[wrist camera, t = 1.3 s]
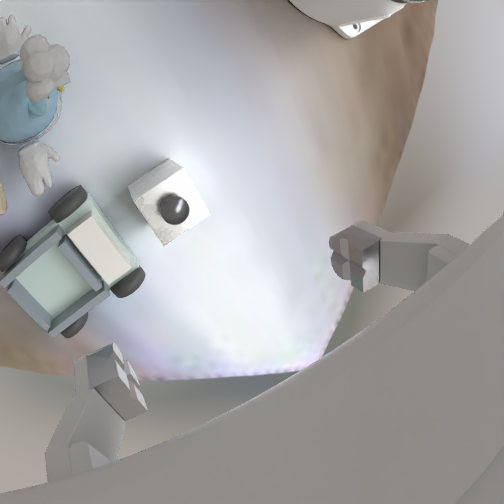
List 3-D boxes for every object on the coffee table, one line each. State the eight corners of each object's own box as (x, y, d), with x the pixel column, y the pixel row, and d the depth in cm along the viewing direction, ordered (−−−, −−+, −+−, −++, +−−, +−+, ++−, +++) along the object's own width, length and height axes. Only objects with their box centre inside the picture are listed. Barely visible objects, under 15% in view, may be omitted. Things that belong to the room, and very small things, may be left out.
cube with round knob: (169, 158, 31) (186, 170, 25) (192, 197, 34) (214, 217, 28) (127, 185, 30) (134, 204, 24) (152, 224, 33) (166, 250, 27)
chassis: (82, 181, 28) (79, 192, 24) (142, 264, 34) (148, 284, 30) (-1, 252, 26) (-11, 271, 22) (63, 322, 32) (62, 347, 28)
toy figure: (103, 160, 28) (105, 198, 16) (11, 201, 25) (-43, 268, 12) (69, 6, 19) (53, -67, 7) (-27, 50, 16) (-99, 19, 4)
